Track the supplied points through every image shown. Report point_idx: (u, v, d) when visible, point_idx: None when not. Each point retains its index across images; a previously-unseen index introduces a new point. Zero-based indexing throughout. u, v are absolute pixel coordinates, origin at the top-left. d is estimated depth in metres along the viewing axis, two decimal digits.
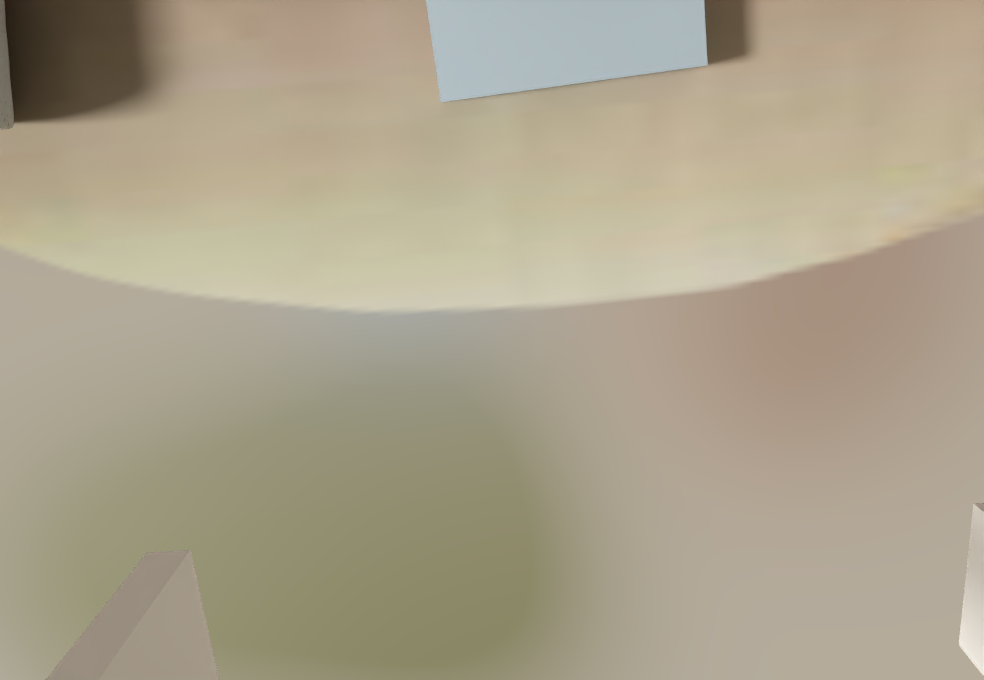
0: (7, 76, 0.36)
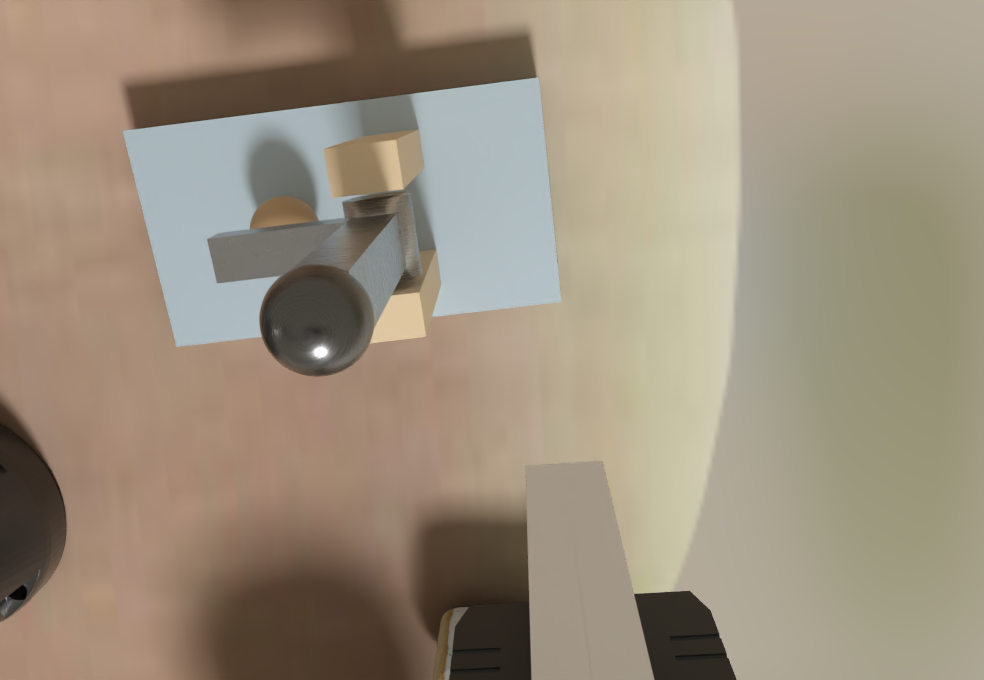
0: None
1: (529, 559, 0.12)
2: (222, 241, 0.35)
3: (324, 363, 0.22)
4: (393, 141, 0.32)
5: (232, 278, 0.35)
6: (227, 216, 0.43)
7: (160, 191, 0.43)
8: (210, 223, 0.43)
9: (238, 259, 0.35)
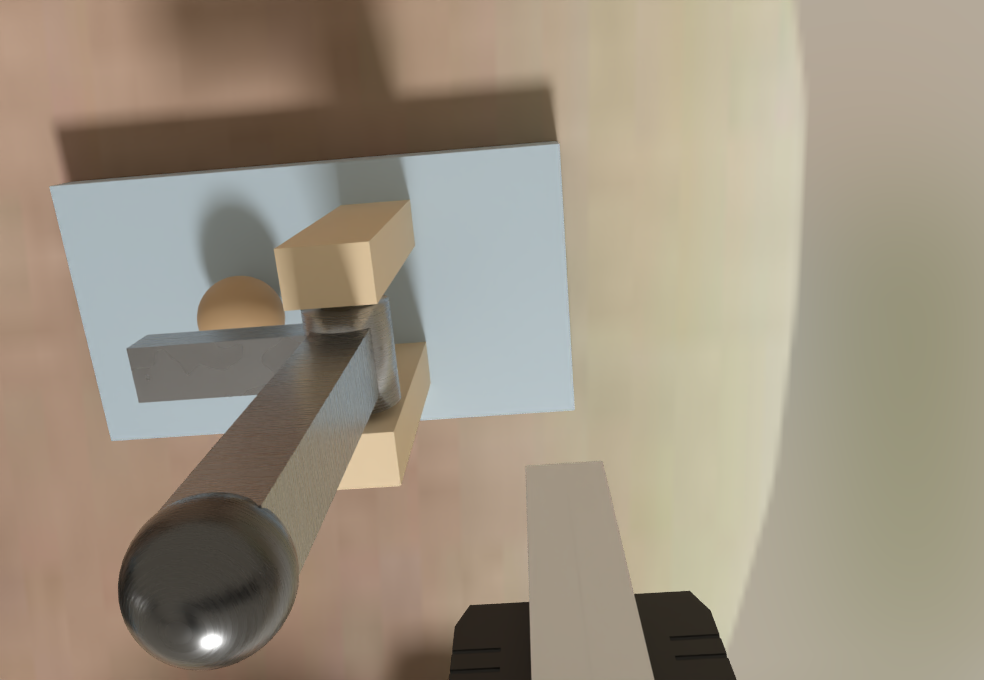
0: None
1: (529, 559, 0.12)
2: (145, 352, 0.27)
3: (211, 663, 0.14)
4: (365, 243, 0.25)
5: (158, 397, 0.28)
6: (174, 292, 0.36)
7: (94, 260, 0.35)
8: (154, 299, 0.36)
9: (166, 375, 0.28)
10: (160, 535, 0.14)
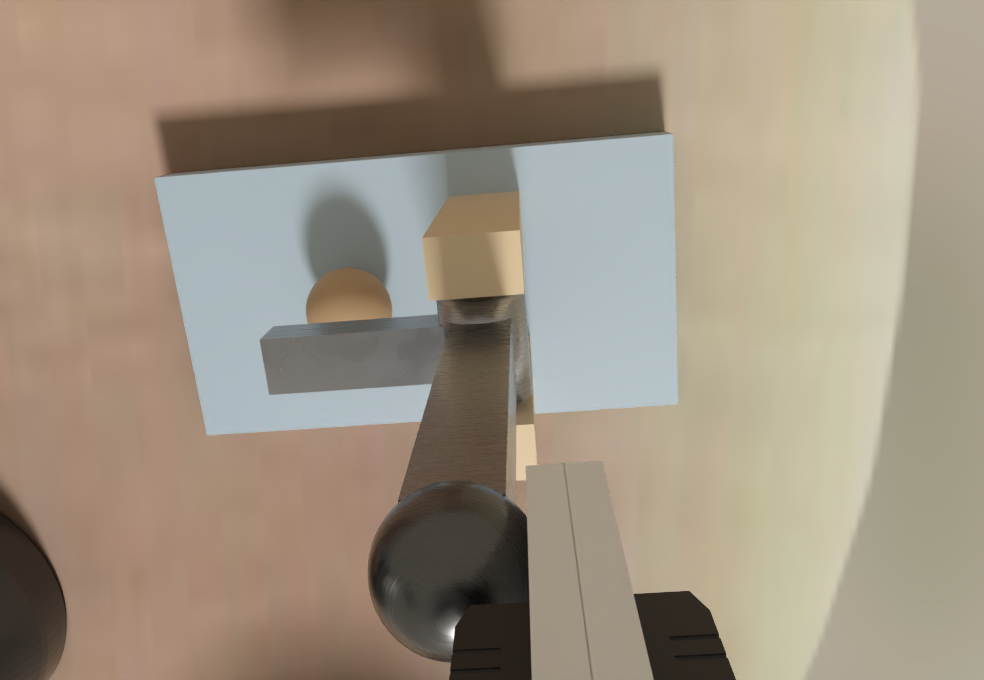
0: None
1: (529, 559, 0.12)
2: (279, 343, 0.27)
3: None
4: (516, 232, 0.24)
5: (289, 389, 0.27)
6: (276, 285, 0.35)
7: (197, 252, 0.35)
8: (255, 292, 0.36)
9: (298, 366, 0.27)
10: (421, 523, 0.14)
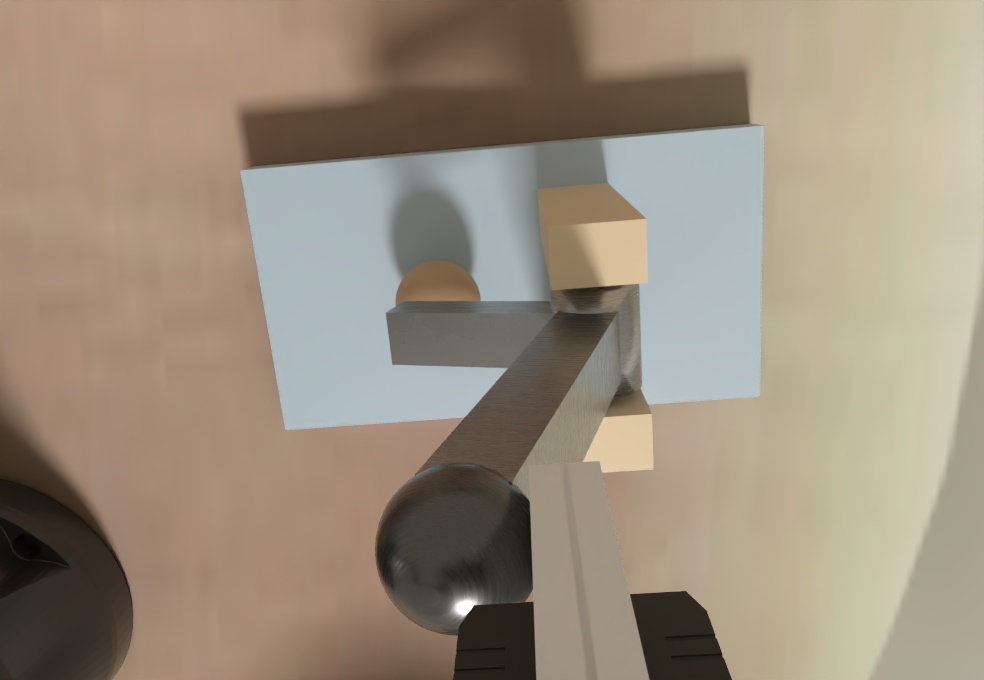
0: None
1: (533, 559, 0.12)
2: (402, 317, 0.29)
3: (454, 630, 0.14)
4: (643, 221, 0.24)
5: (410, 361, 0.29)
6: (360, 278, 0.35)
7: (281, 245, 0.35)
8: (339, 285, 0.35)
9: (418, 340, 0.29)
10: (418, 499, 0.14)
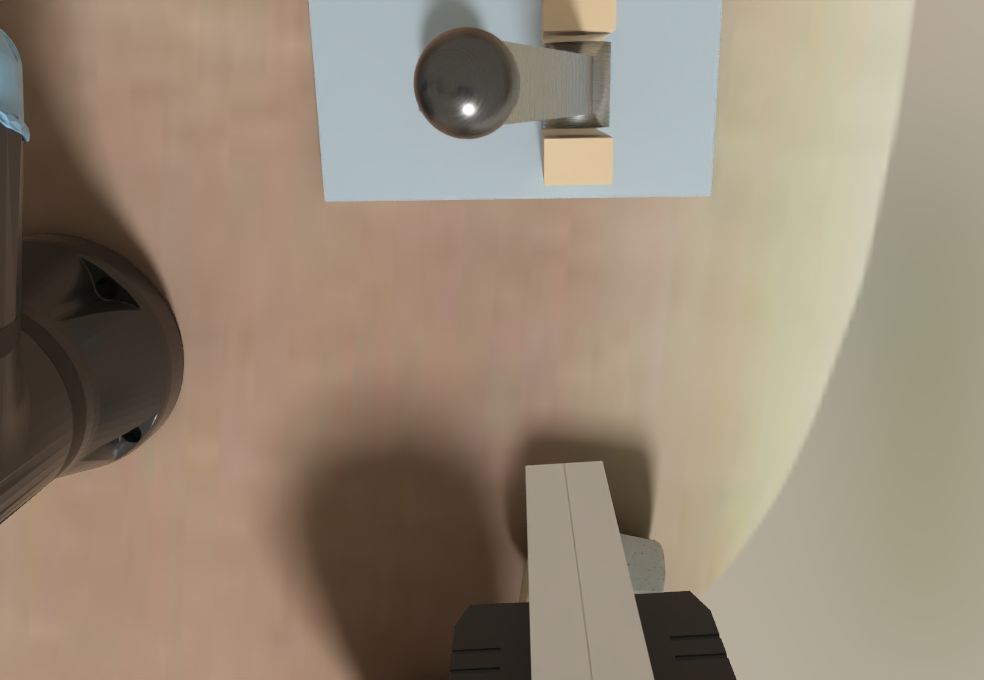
0: (626, 535, 0.51)
1: (529, 559, 0.12)
2: None
3: (461, 117, 0.23)
4: None
5: None
6: (395, 73, 0.44)
7: (334, 41, 0.44)
8: (377, 78, 0.44)
9: None
10: (443, 34, 0.23)
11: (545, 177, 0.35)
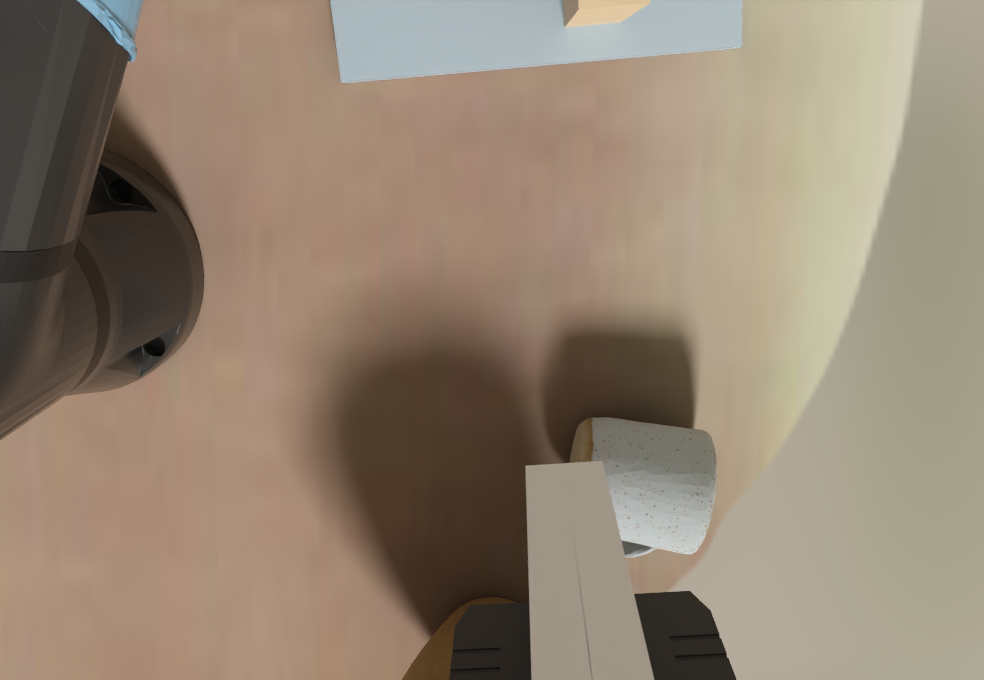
0: (671, 426, 0.49)
1: (529, 559, 0.12)
2: None
3: None
4: None
5: None
6: None
7: None
8: None
9: None
10: None
11: (579, 0, 0.34)
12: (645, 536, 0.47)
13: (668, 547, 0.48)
